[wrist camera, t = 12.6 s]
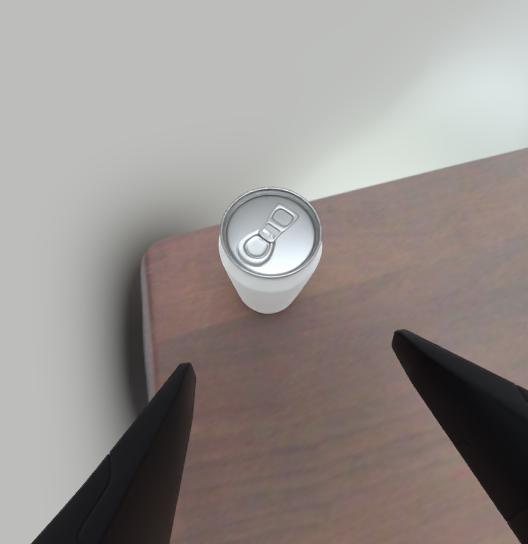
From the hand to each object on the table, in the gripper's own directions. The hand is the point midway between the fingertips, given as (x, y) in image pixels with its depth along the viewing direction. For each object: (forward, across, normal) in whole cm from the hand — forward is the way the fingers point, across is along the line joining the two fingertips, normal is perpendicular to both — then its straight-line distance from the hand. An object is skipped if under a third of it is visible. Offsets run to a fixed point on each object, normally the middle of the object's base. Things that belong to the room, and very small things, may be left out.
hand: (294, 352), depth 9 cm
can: (+13, 0, +4) cm, 14 cm away
